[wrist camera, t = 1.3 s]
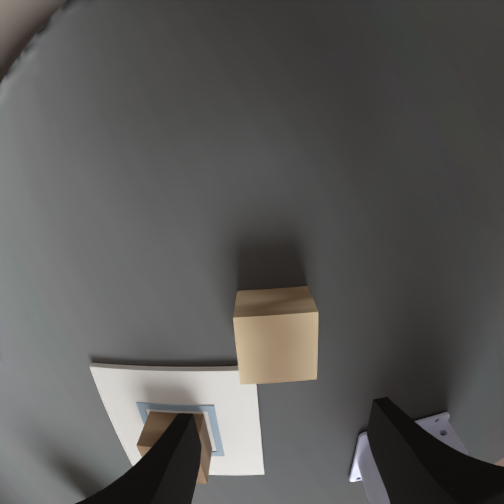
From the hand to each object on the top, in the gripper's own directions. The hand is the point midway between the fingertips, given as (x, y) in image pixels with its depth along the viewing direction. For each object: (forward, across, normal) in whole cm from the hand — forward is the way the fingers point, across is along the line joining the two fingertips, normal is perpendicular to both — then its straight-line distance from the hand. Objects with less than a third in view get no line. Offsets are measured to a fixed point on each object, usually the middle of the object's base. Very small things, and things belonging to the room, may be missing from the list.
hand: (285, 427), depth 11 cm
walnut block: (+9, +8, +10) cm, 16 cm away
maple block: (+10, 0, 0) cm, 10 cm away
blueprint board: (+10, +8, +10) cm, 16 cm away
